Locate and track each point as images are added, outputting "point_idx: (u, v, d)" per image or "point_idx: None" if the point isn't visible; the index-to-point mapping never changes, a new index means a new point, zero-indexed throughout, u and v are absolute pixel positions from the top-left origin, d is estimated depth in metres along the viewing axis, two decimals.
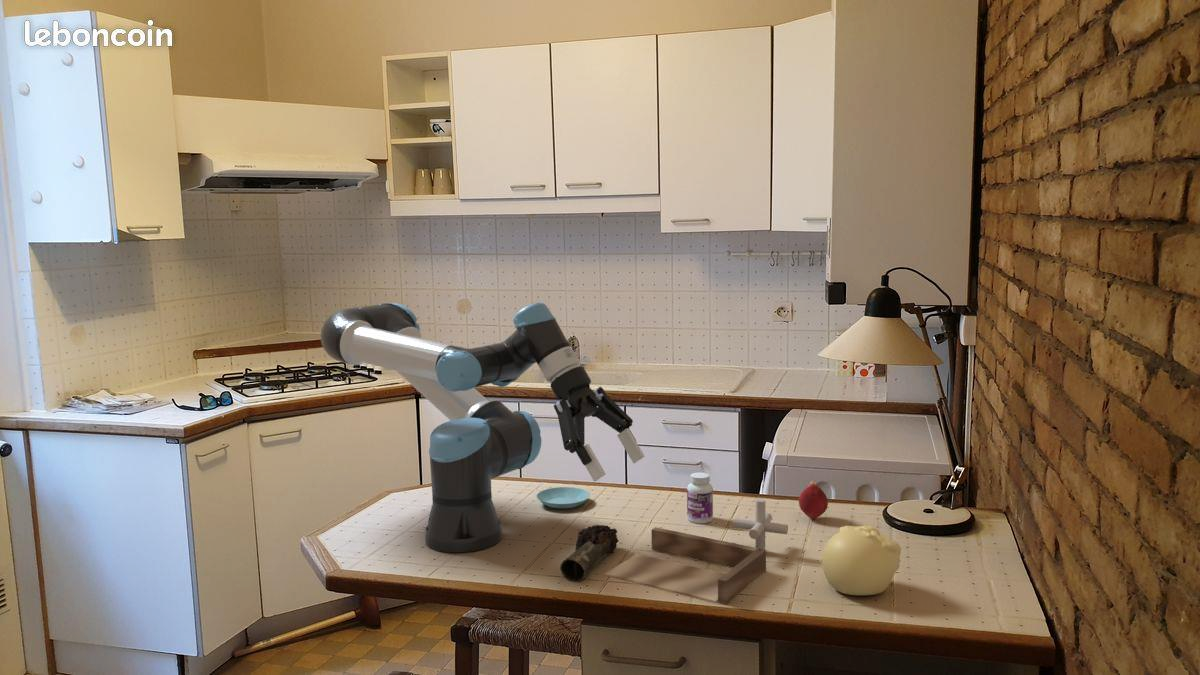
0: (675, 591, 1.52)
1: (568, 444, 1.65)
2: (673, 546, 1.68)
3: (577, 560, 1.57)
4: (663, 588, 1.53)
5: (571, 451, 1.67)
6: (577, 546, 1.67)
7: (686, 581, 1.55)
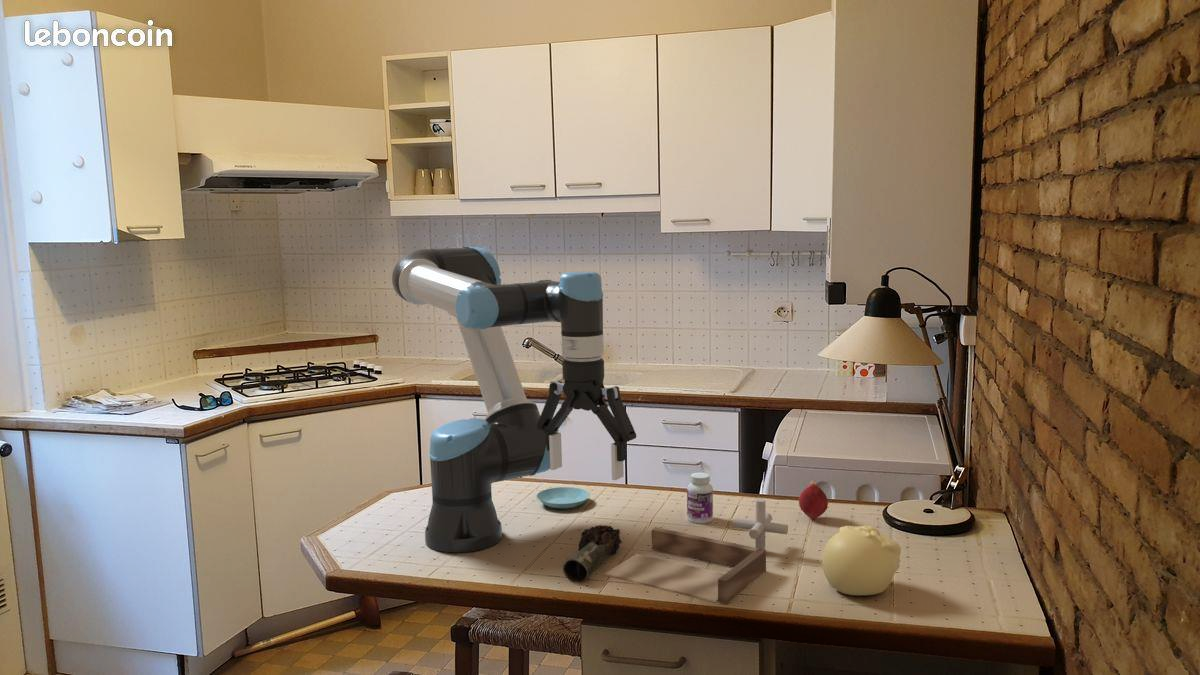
0: (675, 591, 1.52)
1: None
2: (673, 546, 1.68)
3: (580, 561, 1.56)
4: (663, 588, 1.53)
5: None
6: (580, 546, 1.67)
7: (686, 581, 1.55)
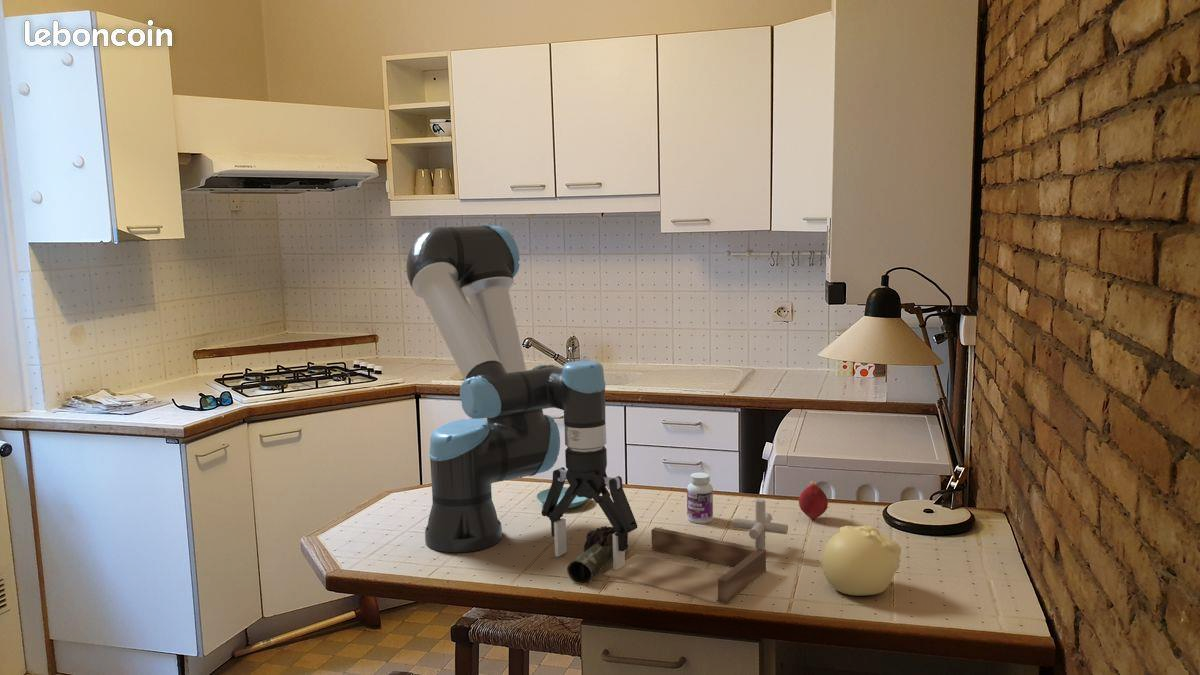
0: (675, 591, 1.52)
1: None
2: (673, 546, 1.68)
3: (584, 562, 1.56)
4: (663, 588, 1.53)
5: None
6: (585, 548, 1.66)
7: (686, 581, 1.55)
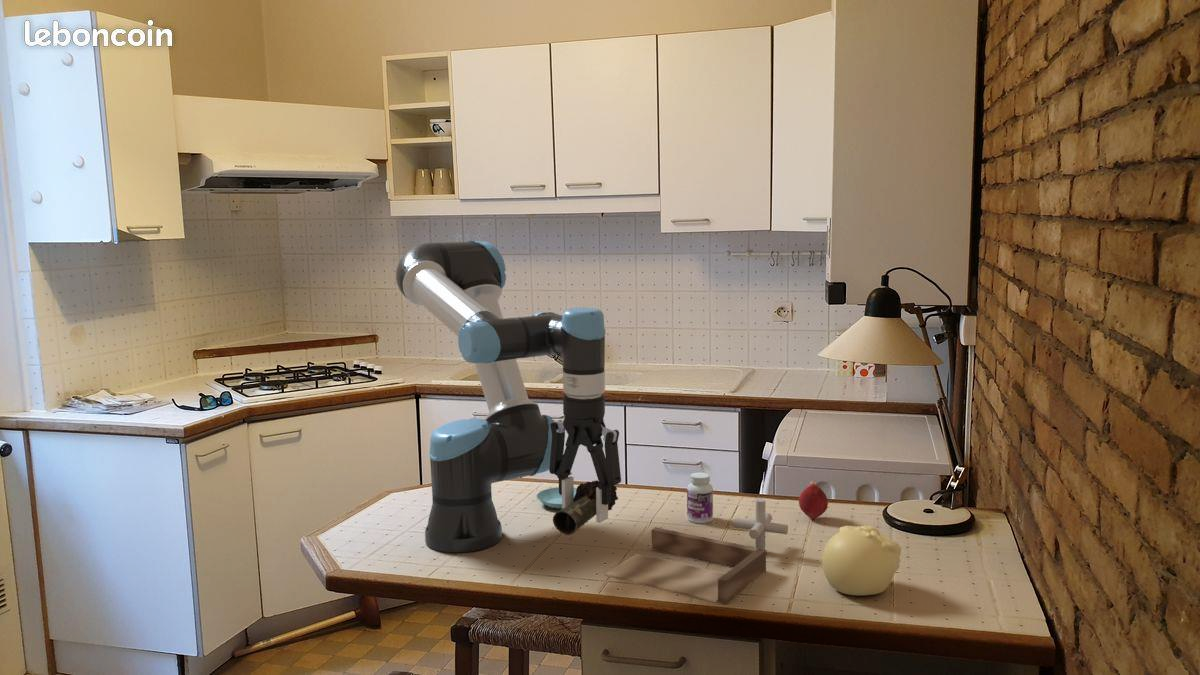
0: (675, 591, 1.52)
1: None
2: (673, 546, 1.68)
3: (569, 513, 1.56)
4: (663, 588, 1.53)
5: None
6: (574, 500, 1.66)
7: (686, 581, 1.55)
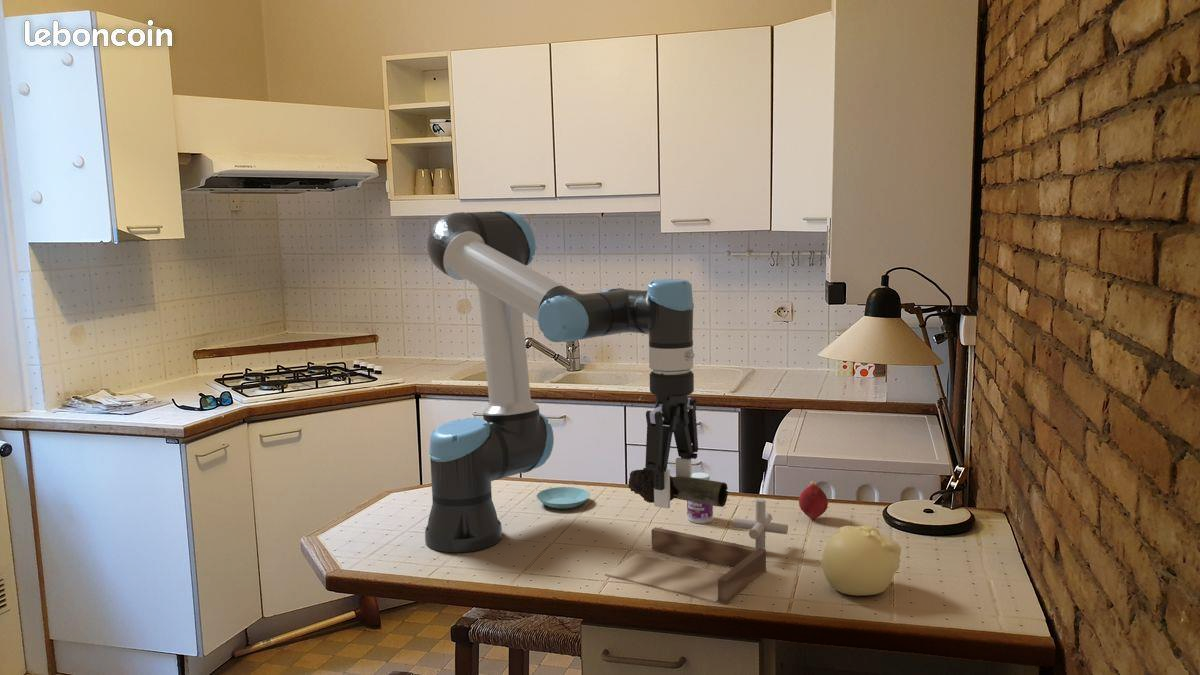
0: (675, 591, 1.52)
1: (652, 465, 1.49)
2: (673, 546, 1.68)
3: None
4: (663, 588, 1.53)
5: (649, 468, 1.52)
6: None
7: (686, 581, 1.55)
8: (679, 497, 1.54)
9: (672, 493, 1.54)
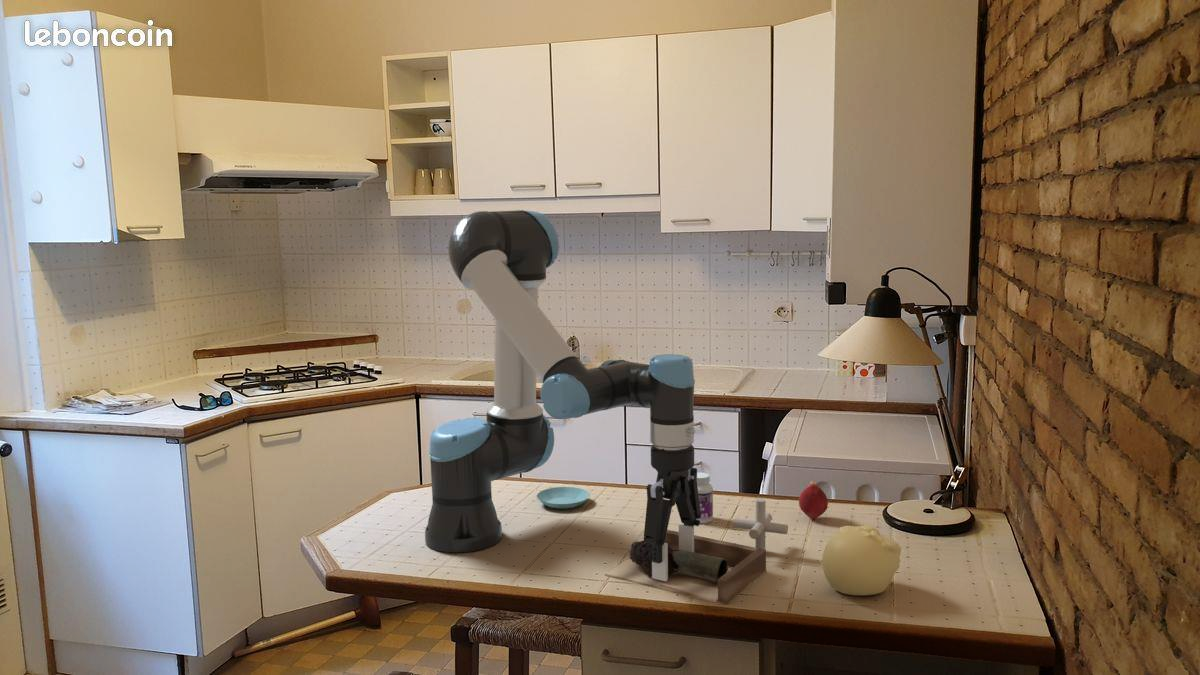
0: (675, 591, 1.52)
1: (650, 540, 1.50)
2: (673, 546, 1.68)
3: (722, 558, 1.55)
4: (663, 588, 1.53)
5: None
6: None
7: (686, 581, 1.55)
8: (679, 571, 1.56)
9: (672, 568, 1.56)
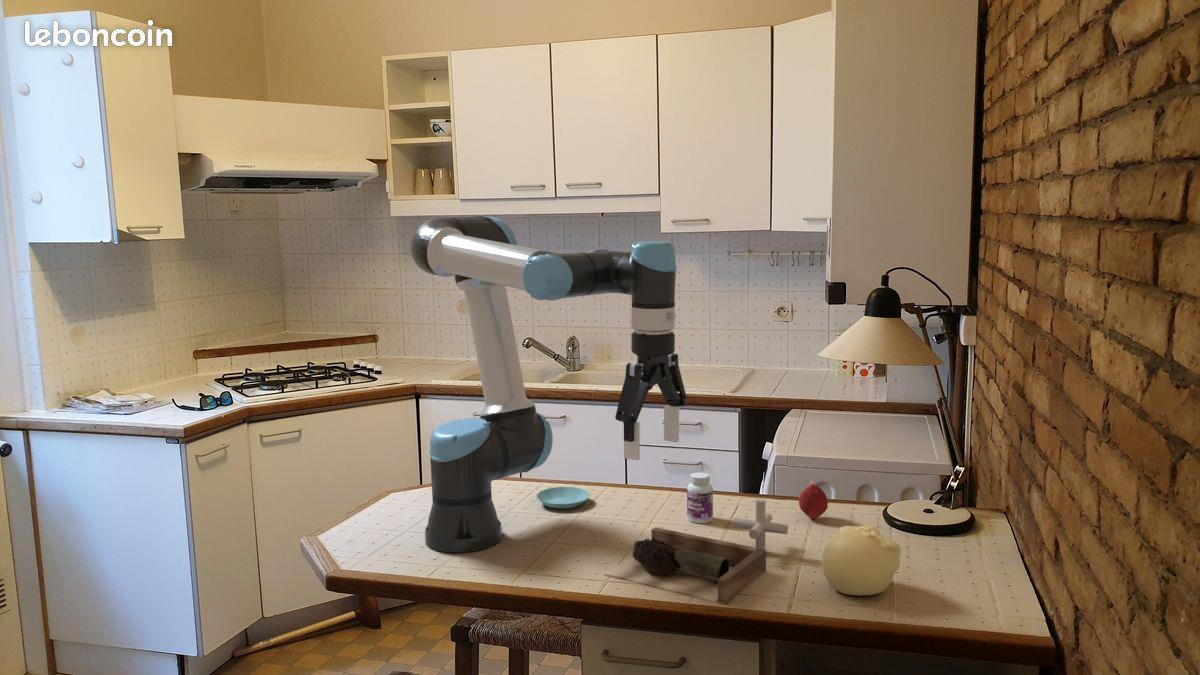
0: (675, 591, 1.52)
1: (621, 417, 1.49)
2: (673, 546, 1.68)
3: (724, 558, 1.55)
4: (663, 588, 1.53)
5: (619, 419, 1.52)
6: (665, 564, 1.56)
7: (686, 581, 1.55)
8: (681, 570, 1.57)
9: (674, 567, 1.57)
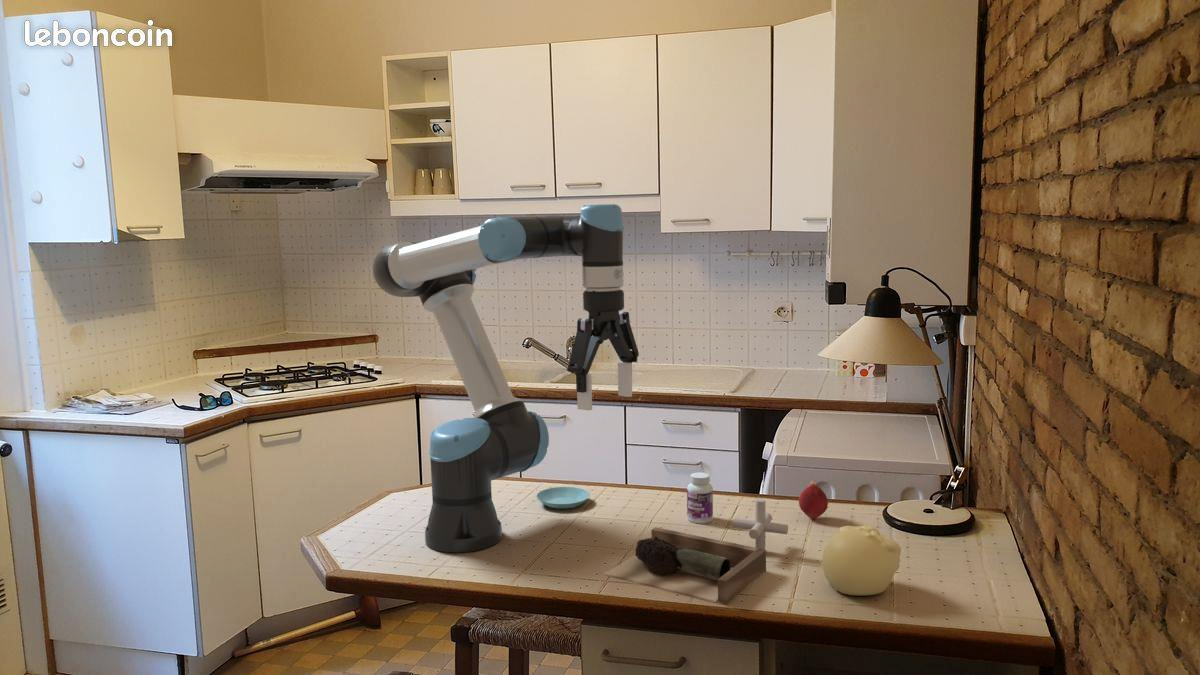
0: (675, 591, 1.52)
1: (573, 368, 1.58)
2: None
3: (725, 558, 1.55)
4: (663, 588, 1.53)
5: (572, 372, 1.61)
6: (667, 563, 1.57)
7: (686, 581, 1.55)
8: (683, 570, 1.57)
9: (675, 566, 1.57)
